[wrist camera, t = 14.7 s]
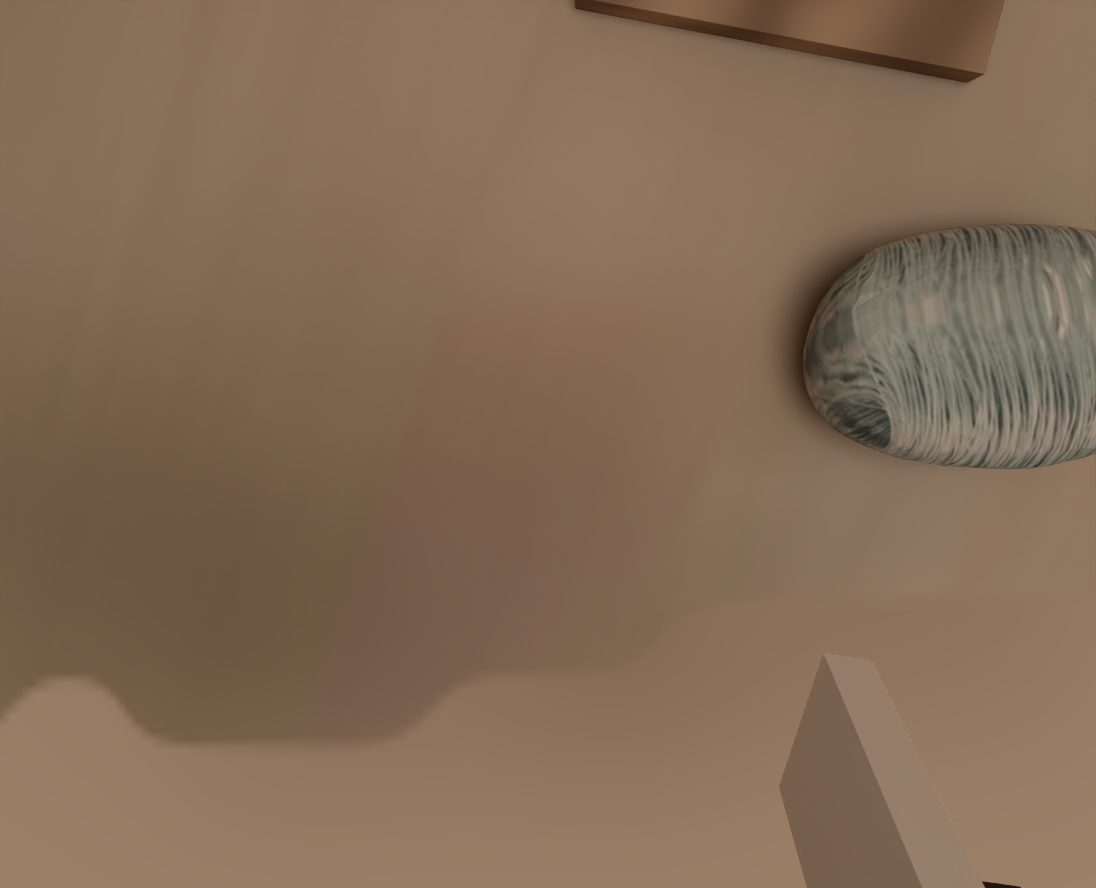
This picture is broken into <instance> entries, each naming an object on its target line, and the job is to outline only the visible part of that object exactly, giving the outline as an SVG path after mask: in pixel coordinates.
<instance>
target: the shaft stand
mask: <svg viewBox="0 0 1096 888" xmlns="http://www.w3.org/2000/svg"><path fill="white" fill-rule="evenodd" d="M1003 4H1004V0H575V8H576V9H581V10H587V11H592V12H597V13H602V14H608V15H613V16H618V17H624V18H629V19H634V20H639V21H645V22H650V23H655V24H661V25H666V26H671V27H676V28H682V29H687V30H692V31H698V32H703V33H708V34H713V35H719V36H724V37H729V38H735V39H740V40H745V41H751V42H756V43H761V44H766V45H772V46H777V47H782V48H788V49H793V50H798V51H803V52H809V53H814V54H819V55H825V56H830V57H835V58H840V59H846V60H851V61H856V62H862V63H867V64H872V65H877V66H883V67H888V68H893V69H899V70H904V71H909V72H914V73H920V74H925V75H930V76H936V77H941V78H946V79H952V80H957V81H962V82H967V83H968V82H970V81H972V80H974V79H976V78H978V77H980V76H981V75H983V74H985V71H986V67H987V63H988V59H989V56H990V52H991V48H992V45H993V41H994V37H995V33H996V30H997V26H998V22H999V18H1000V15H1001V11H1002V7H1003Z"/></svg>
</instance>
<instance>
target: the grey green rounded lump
mask: <svg viewBox="0 0 1096 888" xmlns="http://www.w3.org/2000/svg"><path fill="white" fill-rule="evenodd" d="M803 376H804V380H805V384H806V389H807V392H808V394H809V396H810V399H811V401H812V403H813V406H814V408H815V409H816V410H817V412H818V413H819V414H820V416H821V417H822V418H823V419H824V420H825V421H826V422H827V423H828V424H829V425H830V426H831V427H832V428H834V429H835V430H837V431H838V432H840V433H841V434H843V435H844V436H846V437H848V438H850V439H852V440H854V441H856V442H858V443H860V444H862V445H865V446H867V447H870V448H873V449H875V450H878V451H880V452H883V453H886V454H889V455H891V456H894V457H898V458H902V459H907V460H914V461H920V462H925V463H930V464H936V465H942V466H955V467H972V468H994V469H1024V468H1034V467H1045V466H1049V465H1054V464H1058V463H1062V462H1066V461H1072V460H1077V459H1080V458H1084V457H1088V456H1091V455H1093V454H1096V232H1095V231H1090V230H1085V229H1079V228H1071V227H1063V226H1053V225H1021V224H994V225H985V226H965V227H957V228H951V229H945V230H940V231H935V232H930V233H925V234H920V235H915V236H911V237H907V238H904V239H901V240H897V241H894V242H890V243H887V244H885V245H882V246H879V247H877V248H875V249H873V250H872V251H870V252H869V253H867V254H865V255H864V256H862V257H861V258H859V259H858V260H857V261H855V262H854V263H852V264H851V265H850V266H848V267H847V268H846V269H845V270H844V272H843V273H842V274H841V275H840V276H839V277H838V278H837V279H836V280H835V281H834V283H833V284H832V285H831V287H830V288H829V290H828V291H827V292H826V294H825V295H824V297H823V298H822V300H821V302H820V304H819V306H818V308H817V310H816V313H815V315H814V317H813V319H812V322H811V325H810V328H809V332H808V334H807V339H806V344H805V347H804V352H803Z"/></svg>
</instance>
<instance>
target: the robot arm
mask: <svg viewBox="0 0 1096 888" xmlns="http://www.w3.org/2000/svg"><path fill="white" fill-rule="evenodd" d="M779 788H780V792H781V796H782V799H783V802H784V806H785V810H786V814H787V817H788V821H789V824H790V828H791V832H792V835H793V839H794V843H795V846H796V850H797V853H798V857H799V861H800V864H801V868H802V871H803V875H804V879H805V882H806V886H807V888H1021V887H1017V886H1011V885H1004V884H997V883H990V882H983V881H981V879H980V877H979V875H978V873H977V871H976V869H975V867H974V865H973V863H972V861H971V859H970V857H969V855H968V853H967V851H966V849H965V847H964V844H963V843H962V841H961V838H960V836H959V834H958V833H957V830H956V829H955V826H954V824H953V822H952V821H951V818H950V817H949V814H948V812H947V811H946V809H945V807H944V805H943V802H942V800H941V798H940V797H939V794H938V792H937V790H936V788H935V786H934V784H933V782H932V780H931V778H930V776H929V774H928V772H927V771H926V769H925V766H924V764H923V762H922V761H921V758H920V756H919V754H918V752H917V750H916V748H915V746H914V744H913V742H912V740H911V738H910V736H909V734H908V732H907V730H906V728H905V726H904V724H903V722H902V720H901V718H900V716H899V714H898V712H897V710H896V708H895V706H894V704H893V702H892V700H891V698H890V697H889V694H888V693H887V690H886V688H885V686H884V684H883V682H882V680H881V678H880V676H879V674H878V672H877V670H876V668H875V666H874V664H873V662H872V660H867V659H861V658H854V657H847V656H841V655H834V654H828V653H823V656H822V659H821V662H820V665H819V668H818V671H817V674H816V677H815V680H814V683H813V686H812V689H811V692H810V695H809V699H808V701H807V704H806V707H805V710H804V713H803V716H802V719H801V722H800V725H799V728H798V731H797V734H796V738H795V740H794V744H793V747H792V749H791V753H790V756H789V759H788V762H787V764H786V768H785V770H784V773H783V777H782V780H781V783H780V786H779Z"/></svg>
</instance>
